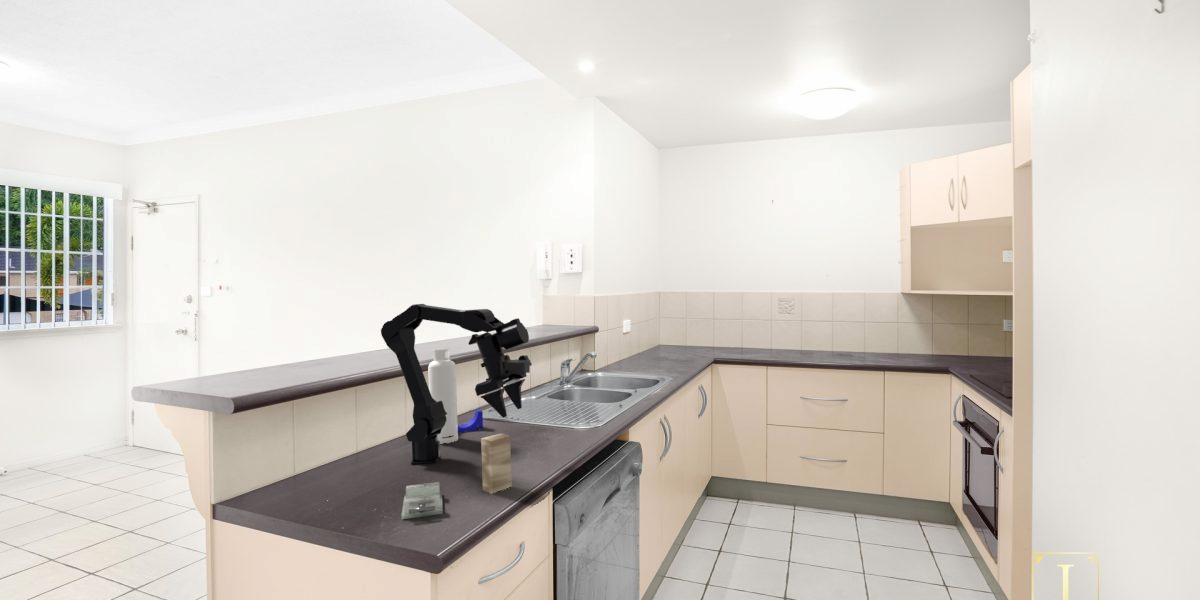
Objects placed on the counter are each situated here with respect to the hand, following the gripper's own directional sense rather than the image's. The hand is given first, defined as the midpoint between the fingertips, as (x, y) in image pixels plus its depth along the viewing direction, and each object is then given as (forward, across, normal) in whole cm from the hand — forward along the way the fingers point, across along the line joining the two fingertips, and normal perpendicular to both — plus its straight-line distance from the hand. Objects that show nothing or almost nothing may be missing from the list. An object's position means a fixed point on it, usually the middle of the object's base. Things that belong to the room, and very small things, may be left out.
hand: (512, 412), depth 143 cm
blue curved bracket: (+3, +30, +34) cm, 46 cm away
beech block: (+14, -15, +2) cm, 21 cm away
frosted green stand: (+10, -28, +13) cm, 33 cm away
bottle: (+3, +18, +34) cm, 39 cm away
